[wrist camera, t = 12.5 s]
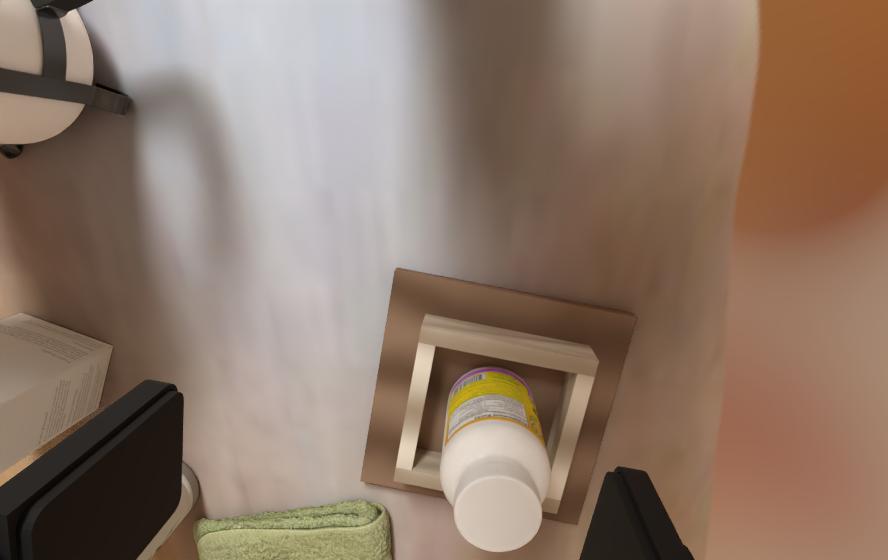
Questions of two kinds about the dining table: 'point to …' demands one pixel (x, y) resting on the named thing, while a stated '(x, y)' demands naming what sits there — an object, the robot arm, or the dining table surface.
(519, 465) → the supplement bottle
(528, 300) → the collar dock
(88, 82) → the coffee press
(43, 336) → the skincare box
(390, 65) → the dining table surface
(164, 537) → the travel mug
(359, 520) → the washcloth
